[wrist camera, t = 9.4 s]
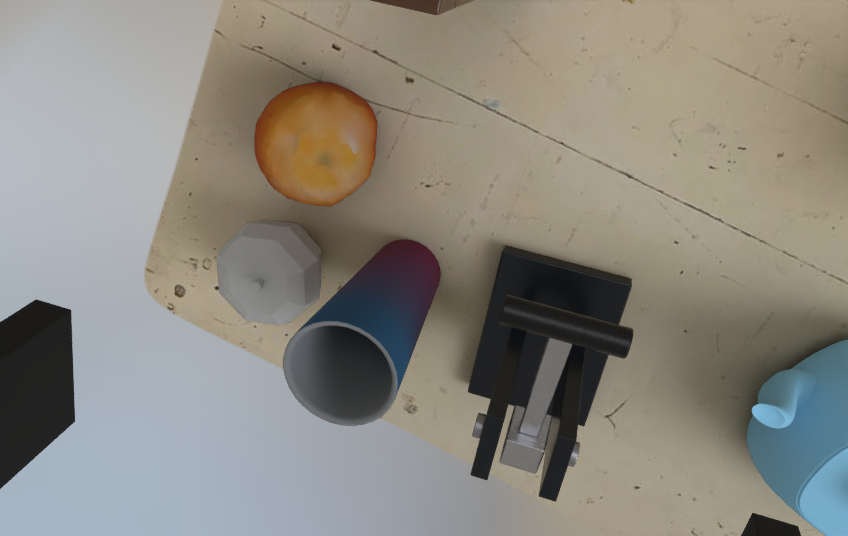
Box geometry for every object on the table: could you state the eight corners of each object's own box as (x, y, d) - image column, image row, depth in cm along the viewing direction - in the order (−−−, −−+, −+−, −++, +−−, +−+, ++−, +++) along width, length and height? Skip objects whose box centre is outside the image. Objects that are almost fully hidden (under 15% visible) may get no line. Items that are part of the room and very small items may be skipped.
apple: (320, 316, 59) (286, 357, 53) (232, 268, 59) (189, 304, 54) (357, 233, 56) (326, 268, 50) (263, 183, 56) (221, 211, 50)
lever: (510, 281, 36) (499, 318, 34) (636, 314, 35) (630, 355, 34) (477, 419, 46) (467, 453, 44) (574, 448, 45) (568, 484, 43)
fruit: (254, 54, 51) (268, 89, 44) (368, 72, 53) (397, 107, 47) (240, 166, 54) (251, 214, 47) (347, 177, 57) (372, 224, 50)
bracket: (505, 244, 53) (465, 345, 40) (632, 278, 52) (634, 393, 39) (470, 384, 58) (425, 514, 45) (585, 417, 57) (572, 561, 44)
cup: (354, 232, 56) (269, 325, 42) (443, 222, 54) (382, 316, 40) (374, 315, 58) (299, 428, 45) (460, 308, 56) (408, 424, 43)
